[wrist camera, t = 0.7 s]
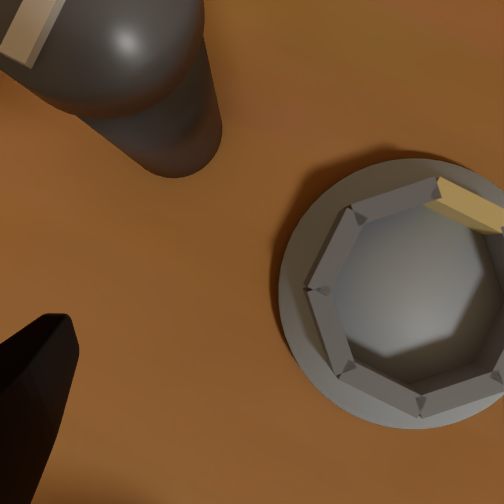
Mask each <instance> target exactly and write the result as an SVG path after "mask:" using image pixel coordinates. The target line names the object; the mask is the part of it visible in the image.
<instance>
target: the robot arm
mask: <svg viewBox="0 0 504 504" xmlns="http://www.w3.org/2000/svg"><path fill="white" fill-rule="evenodd" d="M78 358H79V344H78V340H77V337H76V334H75V330H74V327H73V323H72V320H71V318H70V316H69V315H67V314H62V313H47V314H44V315H42V316H40V317H39V318H37V319H36V320H34V321H33V322H31V323H30V324H29V325H27V326H26V327H24V328H23V329H21V330H20V331H18V332H17V333H15V334H14V335H13V336H11V337H10V338H8V339H7V340H5V341H4V342H2V343H1V344H0V504H31V501H32V499H33V496H34V494H35V491H36V489H37V486H38V484H39V481H40V479H41V476H42V474H43V471H44V468H45V466H46V463H47V461H48V458H49V456H50V453H51V451H52V448H53V445H54V443H55V440H56V437H57V434H58V431H59V427H60V424H61V421H62V417H63V413H64V410H65V406H66V402H67V399H68V395H69V391H70V388H71V384H72V380H73V377H74V373H75V369H76V366H77V362H78Z"/></svg>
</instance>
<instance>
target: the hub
mask: <svg viewBox="0 0 504 504" xmlns="http://www.w3.org/2000/svg"><path fill="white" fill-rule="evenodd" d="M278 304H279V312H280V319H281V323H282V326H283V330H284V334H285V337H286V339H287V342H288V344H289V346H290V349H291V351H292V354H293V355H294V357H295V359H296V361H297V362H298V364H299V366H300V368H301V369H302V371H303V372H304V373H305V375H306V376H307V377H308V379H309V380H310V381H311V382H312V384H313V385H314V386H315V387H316V388H317V389H318V390H319V391H320V392H321V393H322V394H323V395H324V396H326V397H327V398H328V399H329V400H331V401H332V402H333V403H335V404H336V405H337V406H339V407H340V408H342V409H344V410H345V411H347V412H349V413H351V414H352V415H354V416H357V417H359V418H361V419H364V420H366V421H369V422H372V423H375V424H379V425H383V426H386V427H393V428H401V429H427V428H434V427H441V426H445V425H448V424H452V423H456V422H459V421H461V420H464V419H466V418H468V417H471V416H473V415H475V414H477V413H478V412H480V411H482V410H484V409H485V408H487V407H489V406H490V405H491V404H493V403H494V402H495V401H497V400H498V399H499V398H501V397H502V396H503V395H504V192H503V191H502V190H501V189H499V188H498V187H497V186H495V185H494V184H493V183H492V182H490V181H489V180H487V179H485V178H484V177H482V176H480V175H478V174H477V173H475V172H473V171H470V170H468V169H466V168H463V167H461V166H458V165H455V164H451V163H447V162H444V161H439V160H431V159H424V158H406V159H398V160H390V161H385V162H382V163H378V164H374V165H371V166H368V167H366V168H363V169H361V170H358V171H356V172H354V173H352V174H351V175H349V176H347V177H345V178H344V179H342V180H340V181H339V182H337V183H336V184H335V185H333V186H332V187H331V188H329V189H328V190H327V191H325V192H324V193H323V194H322V195H321V196H320V197H319V198H318V199H317V200H316V201H315V202H314V203H313V204H312V205H311V206H310V207H309V209H308V210H307V211H306V212H305V214H304V215H303V216H302V218H301V219H300V221H299V222H298V224H297V226H296V227H295V229H294V231H293V233H292V235H291V237H290V239H289V242H288V244H287V246H286V249H285V252H284V256H283V259H282V263H281V267H280V274H279V281H278Z"/></svg>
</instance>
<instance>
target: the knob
mask: <svg viewBox="0 0 504 504" xmlns="http://www.w3.org/2000/svg"><path fill="white" fill-rule="evenodd" d="M203 31H204V3H203V0H0V70H2V71H3V72H5V73H6V74H7V75H9V76H10V77H12V78H13V79H14V80H16V81H17V82H18V83H20V84H21V85H23V86H24V87H25V88H27V89H28V90H30V91H31V92H32V93H34V94H35V95H36V96H38V97H39V98H41V99H42V100H43V101H45V102H46V103H48V104H50V105H52V106H53V107H55V108H57V109H59V110H62V111H64V112H66V113H69V114H72V115H76V116H77V117H78V118H80V119H81V120H82V121H84V122H85V123H86V124H87V125H89V126H90V127H91V128H93V129H94V130H95V131H97V132H98V133H99V134H100V135H102V136H103V137H104V138H106V139H107V140H108V141H110V142H111V143H112V144H113V145H115V146H116V147H117V148H119V149H120V150H121V151H123V152H124V153H125V154H126V155H128V156H129V157H130V158H132V159H133V160H134V161H135V162H137V163H138V164H139V165H141V166H142V167H143V168H145V169H146V170H148V171H149V172H151V173H153V174H155V175H158V176H162V177H167V178H180V177H185V176H189V175H191V174H194V173H196V172H198V171H199V170H201V169H202V168H204V167H205V166H206V165H207V164H208V163H209V162H210V161H211V160H212V158H213V157H214V156H215V154H216V152H217V150H218V148H219V145H220V142H221V138H222V121H221V116H220V111H219V107H218V102H217V97H216V93H215V88H214V84H213V79H212V74H211V70H210V65H209V61H208V56H207V51H206V47H205V42H204V38H203Z"/></svg>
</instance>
